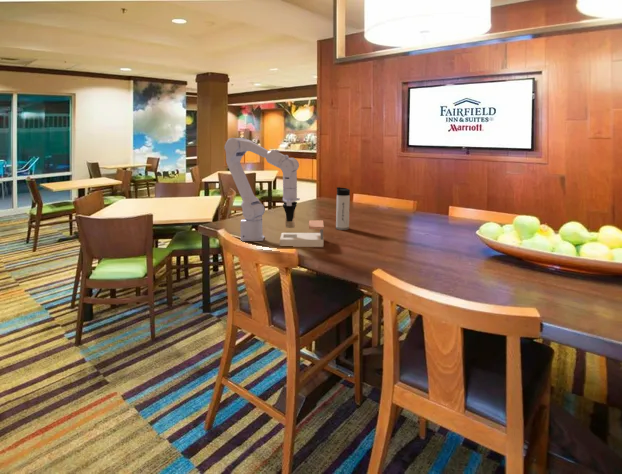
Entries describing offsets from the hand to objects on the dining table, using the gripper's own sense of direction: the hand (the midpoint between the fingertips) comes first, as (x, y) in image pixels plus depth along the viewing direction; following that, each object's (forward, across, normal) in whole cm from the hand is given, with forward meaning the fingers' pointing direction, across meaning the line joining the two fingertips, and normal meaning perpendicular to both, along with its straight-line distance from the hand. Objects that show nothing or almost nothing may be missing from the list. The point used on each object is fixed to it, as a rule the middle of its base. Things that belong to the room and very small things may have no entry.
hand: (290, 220), depth 179 cm
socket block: (+10, 0, -5) cm, 11 cm away
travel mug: (+10, +28, -24) cm, 38 cm away
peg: (+3, 0, 0) cm, 3 cm away
